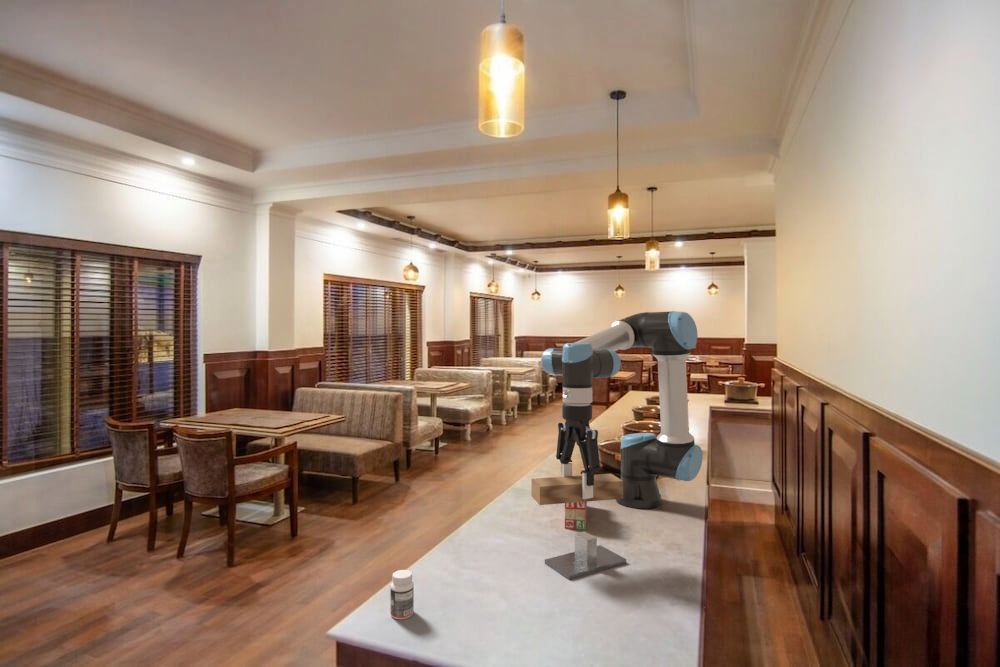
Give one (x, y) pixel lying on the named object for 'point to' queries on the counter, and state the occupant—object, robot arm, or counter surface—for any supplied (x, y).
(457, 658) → the counter surface
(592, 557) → the fulcrum
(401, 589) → the pill bottle
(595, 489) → the board
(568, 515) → the stack of blocks
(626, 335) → the robot arm
